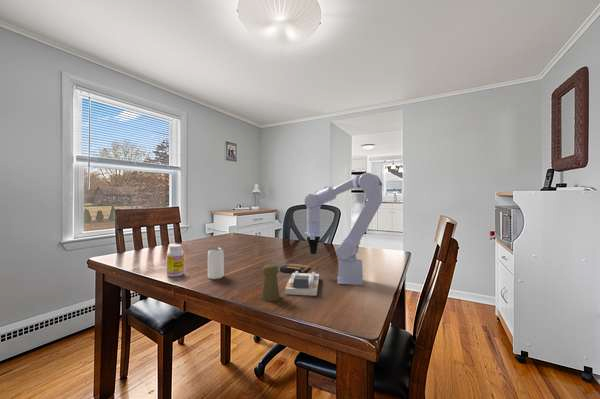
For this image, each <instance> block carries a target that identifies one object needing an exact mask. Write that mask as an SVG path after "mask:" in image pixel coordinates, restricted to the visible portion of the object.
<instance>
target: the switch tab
mask: <svg viewBox="0 0 600 399" xmlns="http://www.w3.org/2000/svg"><path fill="white" fill-rule="evenodd" d="M308 286H309V276H298V275H295V277H294V288H308Z"/></svg>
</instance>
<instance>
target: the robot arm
mask: <svg viewBox="0 0 600 399" xmlns="http://www.w3.org/2000/svg"><path fill="white" fill-rule="evenodd" d="M352 189H361V190H362V191H363V192H364V194H365V197H366V199H367V201H366V203H365V204H364V207H363V208H362V209H361V212H360V213H359V214H358V217H357V218H356V220H355V223H354V224H353V226H352V228H351V230H350V232H349V233H348V235H347V236H346V237H345V238H344V240H343V241H342V242H341V244H339V245H338V246H337V247H336V250H335V254H336V256H337V259H338V260H337V261H338V263H337V264H338V267H337V268H338V273H337V274H338V276H336V279H337V281H336V282H337V284H338V285H354V286H355V285H356V286H357V285H358V286H363V277H364V276H363V274H364V273H363V261H362V259H358V258H357V254H358V253H359V246H360V244H361V240H362V238H363V236H364V235H365V233H366V231H367V230H368V228H369V226H370V224H371V222H372V220H373V219H374V217H375V216H376V214H377V212H378V210H379V208H380V207H381V205H382V204H383V200H384V198H383V183H382V180H381V179H380V177H379V176H378V175H376V174H372V172H371V173H370V172H364V173H362V174H359V175H355V176H354V177H352V178H350V179H348V180H346V181H344V182H341V183H340V184H338V185H336V186H334V187H332V186H327V185H326V186H324V187H323V188H322V189H320V190H318V191H317V190H316V191H314V194H313V193H309V194H308V195H306V196H305V197H304V204H305V206H306V231H304V233H303V234H304V235H307V236H308V237H306V241H307V243H308V245H309V250H310V251H309V252H310V254H311V255H316V254H317V252H318V245H319V241H320V239H321V236H320V235H321V206H322V205H324V204H326V203H329V202H332V201H333V200H336V198H337V196H338V195H340V194H342V193H346V192H347V191H349V190H352Z"/></svg>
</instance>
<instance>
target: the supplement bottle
mask: <svg viewBox="0 0 600 399" xmlns="http://www.w3.org/2000/svg"><path fill="white" fill-rule="evenodd" d="M182 245H183V244H178V243H177V244H171V245H169V251H168V252H167V253H166V276H168V277H170V278H171V277H179V276H182V275H183V274H185V273H184V272H185V269H184V268H185V267H184V266H185V251H183V250H182V247H183V246H182Z"/></svg>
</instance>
